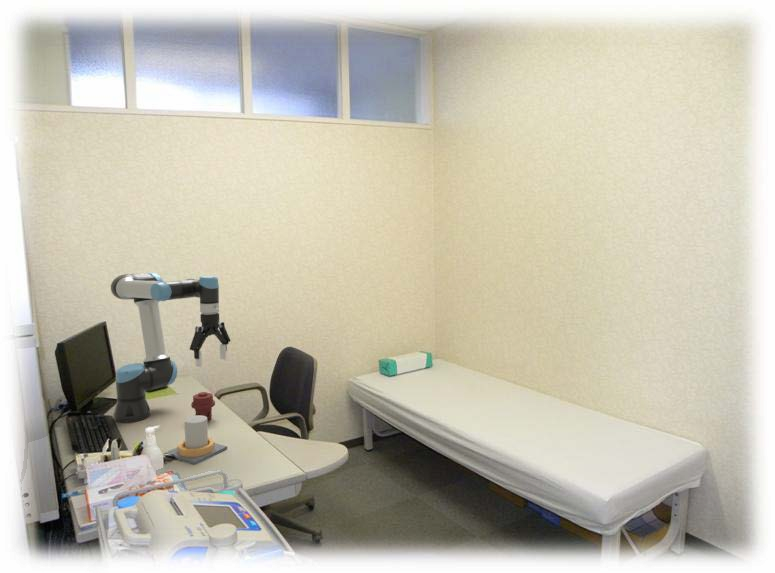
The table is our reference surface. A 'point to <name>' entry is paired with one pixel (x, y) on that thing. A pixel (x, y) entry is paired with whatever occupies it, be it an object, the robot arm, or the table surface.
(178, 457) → the socket board
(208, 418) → the mechanical component
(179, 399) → the table surface
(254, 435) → the table surface
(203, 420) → the grey cylinder
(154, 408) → the table surface
